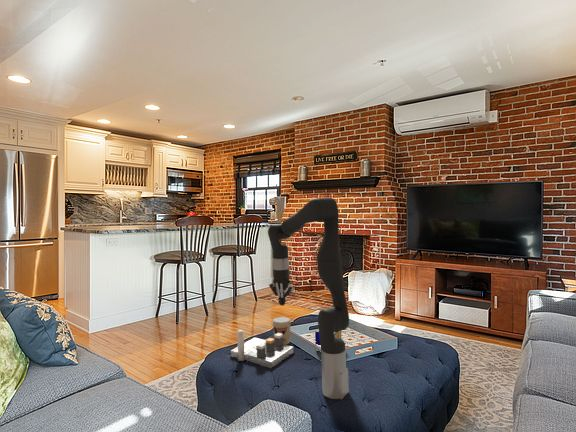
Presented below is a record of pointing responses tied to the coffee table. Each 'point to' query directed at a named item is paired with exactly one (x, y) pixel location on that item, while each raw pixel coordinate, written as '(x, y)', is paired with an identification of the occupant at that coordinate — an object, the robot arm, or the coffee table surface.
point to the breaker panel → (271, 357)
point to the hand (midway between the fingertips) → (282, 304)
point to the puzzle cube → (336, 335)
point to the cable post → (240, 345)
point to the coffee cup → (282, 328)
